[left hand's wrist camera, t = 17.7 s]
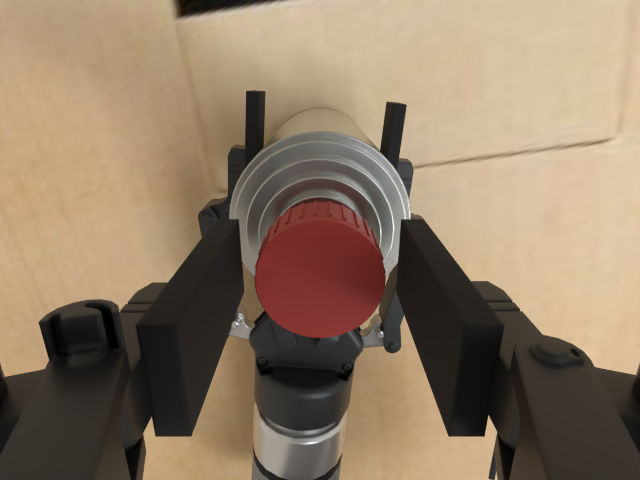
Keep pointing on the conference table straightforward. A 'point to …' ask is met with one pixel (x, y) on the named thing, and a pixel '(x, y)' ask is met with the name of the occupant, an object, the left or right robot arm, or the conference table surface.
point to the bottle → (320, 181)
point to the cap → (320, 270)
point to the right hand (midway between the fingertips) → (326, 97)
